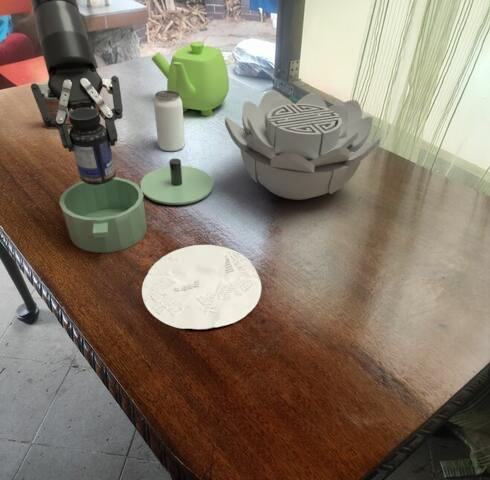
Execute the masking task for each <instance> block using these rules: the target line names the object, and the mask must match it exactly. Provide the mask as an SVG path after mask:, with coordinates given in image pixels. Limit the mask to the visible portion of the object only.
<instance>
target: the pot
mask: <svg viewBox="0 0 490 480" xmlns="http://www.w3.org/2000/svg"><path fill="white" fill-rule="evenodd" d="M144 197H145V196H144V194H143V191H142V190H141V187H140V185H139V184H138V183H135V182H133V181H131V180H129V179H126V178H121V177H116V176H115V177H114V178H113V179H112V180H111V181H109V182H107V183H104V184H100V185H91V184H87V183H85V182H83V181H82V180H81V181H79V182H76V183H74V184H73V185H71V186H69V187H67V189H65V190H64V191H63V193H62V194H61V195H60V198H59V203H58V204H59V207H60V211H61V214H62V217H63V221H64V225H65V227H66V231H67V234H68V236H69V239H70V241H71V242H72V243H73V244H74V246H76V247H78V248H79V249H81V250H83V251H85V252H90V253H98V254H100V253H101V254H105V253H115V252H121V251H123V250H126V249H129V248H131V247H133V246H135V245H136V244H138V243H139V242H141V241H142V240H143V238H144V237H145V236H146V234H147V231H148V219H147V212H146V205H145V199H144Z"/></svg>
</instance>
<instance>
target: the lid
mask: <svg viewBox="0 0 490 480" xmlns="http://www.w3.org/2000/svg"><path fill="white" fill-rule="evenodd" d="M168 164H169V166H162V167H160V168H157V169H156V168H155V169H154V170H151V171H149V172H148V173H147V174H145V175H144V176H143V177H142V179H141V180H140V184H139V187H140V189H141V190H142V191H143V196H144V197H146V198H147V199H148V200H151V201H152V202H155V203H158V204H163V205H170V206H171V205H173V206H176V205H178V206H180V205H188V204H192V203H196V202H199V201H200V200H203V199H205V198H207V196H209V195H210V194H211V192H212V191H213V189H214V180H213V179H212V176H210V174H209V173H207V172H206V171H204V170H202V169H199V168H196V167H193V166H188V165H182V161H181V159H179V158H171V159H170V160H169V161H168Z"/></svg>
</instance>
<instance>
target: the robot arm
mask: <svg viewBox="0 0 490 480" xmlns="http://www.w3.org/2000/svg"><path fill="white" fill-rule="evenodd" d="M29 2H30V5H31V9H32V13H33V17H34V21H35V30H36V33H37V39H38V43H39V46H40V49H41V53H42V56H43V60H44V64H45V67H46V71H47V75H48V81H47V83H46V84H40V85H41V86H38V85H39V84H37V83H35V82H34V83H31V85H30V90H31V92H32V96H33V98H34V101H35V103H36V105H37V107H38V111H39V113H40V116H41V115H42V116H41V119H42V118H43V119H42V121H43V120H44V122H43V123H45V125H46V126H47V127H55V128H57V129H56V130H58V133H59V136H60V137H59V138H60V141H61V143H62V145H61V146H62V147H63V148H64V149H65V150H66V149H68V152H69V153H71V152H74V151H73V147H72V144H71V140H70V136H69V132H70V131H69V129H67V125H66V123H67V119H68V117H69V113H70V109H71V110H72V111H73V110H75V109H79V108H93V109H96V110H98V112H99V115H100V118H102V119H103V120H104V127H105V128H106V130H107V132H108V137H109V142H110V147H115V146H116V143H117V142H118V132H117V128H116V124H115V121H117V120H121V119H123V111H124V108H123V101H122V94H121V85H120V78H119V77H118V76H117V75H113V76H111V77H110V78H102V77H101V75H99V73H98V72H97V71H98V70H97V67H96V63H95V60H94V56H93V52H92V49H91V45H90V44H91V43H90V41H89V37H88V33H87V29H86V26H85V22H84V20H83V18H82V15H81V12H80V9H79V5H78V1H77V0H29ZM103 88H104V89H106V91H107V93H108V94H109V95H111V97H112V103H113V108H111V109H110V107H108V105H107V104H106V103H105V101H104V99H103V98H102V96H101V95H100V94H101V92H102V90H103ZM50 92H51V93H52V94H53V95H54V96H55V97H56V98H57V99H58V100H59V106H58V112H57V116H51V115H50V113H49V110H48V108H47V106H46V103H45V101H47V100H48V94H49V93H50Z"/></svg>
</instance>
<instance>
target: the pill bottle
mask: <svg viewBox="0 0 490 480" xmlns="http://www.w3.org/2000/svg"><path fill="white" fill-rule="evenodd" d="M69 118H70V123H71V124H72V125H73V127H72V128H71V129H69V131H68V132H69V136H70V140H71V144H72V147H73V151H72V152H73V155H74V158H75V161H76V162H75V163H76V167H77V171H78V174H79V178H80V180H81V181H83V182H85V183H87V184H91V185H100V184H104V183H107V182H109V181H111V180H112V179H113V178H114V177H116V168H115V163H114V158H113V153H112V148H111V147H112V146H111V145H110V142H109V137H108V132H107V130H106V127H105V125H103V124H101V115H100V114H99V112H98V110H96V109H94V108H93V107H91V108H79V109H75V110H72V111H71V112H70V113H69Z"/></svg>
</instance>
